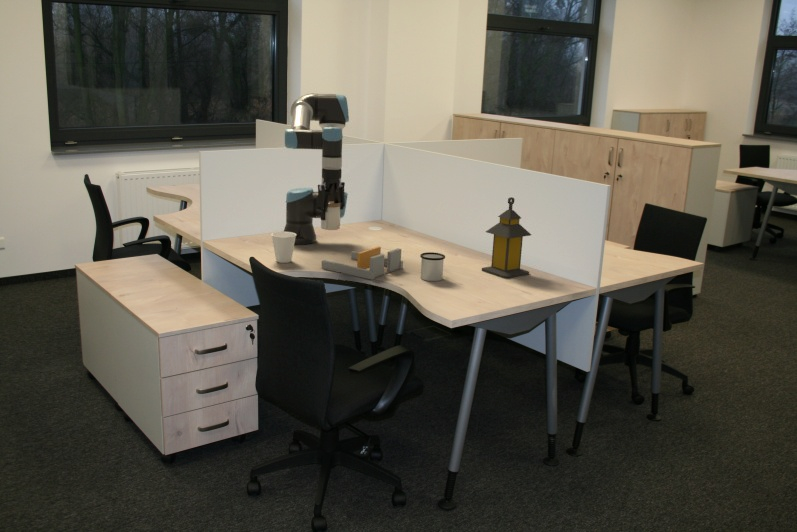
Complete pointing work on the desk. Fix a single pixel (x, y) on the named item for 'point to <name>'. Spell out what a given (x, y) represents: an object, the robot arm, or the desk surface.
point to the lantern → (507, 245)
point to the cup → (283, 246)
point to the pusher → (367, 257)
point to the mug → (432, 266)
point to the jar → (333, 215)
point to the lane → (375, 265)
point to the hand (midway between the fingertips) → (330, 226)
